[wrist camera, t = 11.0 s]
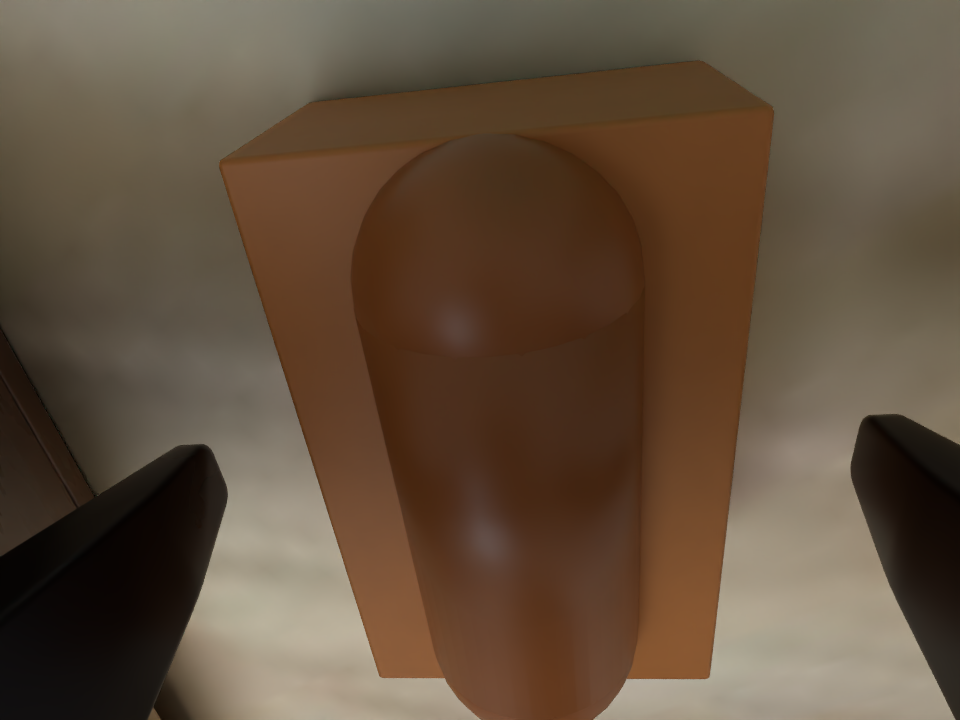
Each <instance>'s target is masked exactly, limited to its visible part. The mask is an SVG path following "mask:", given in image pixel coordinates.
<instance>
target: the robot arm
mask: <svg viewBox="0 0 960 720" xmlns="http://www.w3.org/2000/svg"><path fill="white" fill-rule="evenodd" d="M851 478H852V482H853V485H854V488H855V491H856V494H857V496H858V499H859V502H860V505H861V508H862V510H863V513H864V516H865V519H866V522H867V524H868V527H869V530H870V533H871V536H872V538H873V541H874V544H875V547H876V550H877V552H878V555H879V558H880V561H881V564H882V566H883V569H884V572H885V574H886V577H887V579H888V582H889V585H890V587H891V589H892V591H893V593H894V596H895V598H896V600H897V602H898V604H899V606H900V608H901V610H902V612H903V614H904V616H905V618H906V620H907V622H908V624H909V626H910V628H911V630H912V632H913V634H914V637H915V639H916V641H917V643H918V645H919V647H920V649H921V651H922V653H923V655H924V657H925V659H926V661H927V663H928V665H929V667H930V669H931V671H932V673H933V675H934V677H935V679H936V681H937V683H938V685H939V687H940V689H941V691H942V693H943V695H944V697H945V699H946V701H947V703H948V705H949V707H950V709H951V711H952V713H953V715H954V717H955V719H956V720H960V445H959V444H957V443H955V442H953V441H951V440H949V439H947V438H945V437H943V436H941V435H939V434H937V433H936V432H934V431H932V430H930V429H928V428H926V427H924V426H922V425H920V424H918V423H916V422H914V421H913V420H911V419H909V418H907V417H905V416H903V415H899V414H881V415H868V416H866V417H865V418H863V420H862V422H861V424H860V427H859V431H858V435H857V440H856V444H855V448H854V452H853V457H852V461H851ZM227 498H228V491H227V486H226V483H225V481H224V478H223V476H222V473H221V471H220V469H219V466H218V464H217V461H216V459H215V456H214V454H213V452H212V450H211V449H210V448H209V447H208V446H207V445H204V444H194V445H180V446H177V447H175V448H173V449H172V450H170V451H169V452H167V453H165V454H164V455H162V456H161V457H159V458H157V459H156V460H154V461H153V462H151V463H149V464H148V465H146V466H145V467H143V468H141V469H140V470H138V471H137V472H135V473H133V474H132V475H130V476H129V477H127V478H125V479H124V480H122V481H121V482H119V483H117V484H116V485H114V486H113V487H111V488H109V489H108V490H106V491H104V492H103V493H101V494H100V495H98V496H96V497H95V498H93V499H92V500H90V501H88V502H87V503H85V504H84V505H82V506H80V507H79V508H77V509H76V510H74V511H72V512H71V513H69V514H68V515H66V516H64V517H63V518H61V519H60V520H58V521H56V522H55V523H53V524H52V525H50V526H48V527H47V528H45V529H44V530H42V531H40V532H39V533H37V534H36V535H34V536H32V537H31V538H29V539H28V540H26V541H24V542H23V543H21V544H20V545H18V546H16V547H15V548H13V549H12V550H10V551H8V552H7V553H5V554H4V555H2V556H0V720H148V718H149V716H150V714H151V711H152V709H153V706H154V704H155V702H156V699H157V697H158V694H159V692H160V689H161V687H162V685H163V682H164V680H165V677H166V675H167V673H168V670H169V668H170V665H171V663H172V661H173V658H174V656H175V653H176V651H177V648H178V646H179V644H180V641H181V639H182V636H183V634H184V632H185V629H186V627H187V624H188V622H189V619H190V617H191V615H192V612H193V610H194V607H195V604H196V602H197V599H198V597H199V594H200V591H201V588H202V585H203V582H204V579H205V575H206V572H207V568H208V565H209V562H210V558H211V555H212V551H213V548H214V545H215V541H216V538H217V534H218V531H219V528H220V524H221V521H222V517H223V514H224V511H225V507H226V504H227Z"/></svg>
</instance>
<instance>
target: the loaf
mask: <svg viewBox="0 0 960 720" xmlns="http://www.w3.org/2000/svg"><path fill="white" fill-rule="evenodd" d="M773 120H774V110H773V107H772V106H771V105H769V104H768V103H766V102H765V101H763V100H762V99H760V98H758V97H757V96H755V95H754V94H752V93H751V92H749V91H748V90H746V89H745V88H743V87H742V86H740V85H739V84H737V83H736V82H734V81H732V80H731V79H729V78H728V77H726V76H725V75H723V74H722V73H720V72H719V71H717V70H716V69H714V68H713V67H711V66H709V65H708V64H706V63H705V62H703V61H700V60H699V61H690V62H681V63H671V64H662V65H653V66H643V67H634V68H625V69H616V70H606V71H597V72H588V73H578V74H569V75H560V76H551V77H541V78H532V79H523V80H513V81H504V82H495V83H486V84H476V85H467V86H458V87H448V88H439V89H430V90H421V91H411V92H402V93H393V94H383V95H374V96H365V97H356V98H346V99H337V100H328V101H318V102H310V103H308V104H307V105H305V106H303V107H302V108H300V109H299V110H297V111H296V112H294V113H293V114H291V115H290V116H288V117H287V118H285V119H283V120H282V121H280V122H279V123H277V124H276V125H274V126H273V127H271V128H270V129H268V130H267V131H265V132H263V133H262V134H260V135H259V136H257V137H256V138H254V139H253V140H251V141H250V142H248V143H247V144H245V145H243V146H242V147H240V148H239V149H237V150H236V151H234V152H233V153H231V154H230V155H228V156H227V157H225V158H223V159H222V160H220V162H219V168H220V171H221V175H222V178H223V181H224V184H225V187H226V190H227V194H228V197H229V200H230V203H231V206H232V210H233V213H234V216H235V219H236V222H237V225H238V229H239V232H240V235H241V238H242V241H243V244H244V248H245V251H246V254H247V257H248V260H249V263H250V267H251V270H252V273H253V276H254V279H255V282H256V286H257V289H258V292H259V295H260V298H261V301H262V305H263V308H264V311H265V314H266V317H267V321H268V324H269V327H270V330H271V333H272V336H273V340H274V343H275V346H276V349H277V352H278V355H279V359H280V362H281V365H282V368H283V371H284V374H285V378H286V381H287V384H288V387H289V390H290V393H291V397H292V400H293V403H294V406H295V409H296V413H297V416H298V419H299V422H300V425H301V428H302V432H303V435H304V438H305V441H306V444H307V447H308V451H309V454H310V457H311V460H312V463H313V466H314V470H315V473H316V476H317V479H318V482H319V485H320V489H321V492H322V495H323V498H324V501H325V504H326V508H327V511H328V514H329V517H330V520H331V524H332V527H333V530H334V533H335V536H336V539H337V543H338V546H339V549H340V552H341V555H342V558H343V562H344V565H345V568H346V571H347V574H348V577H349V581H350V584H351V587H352V590H353V593H354V596H355V600H356V603H357V606H358V609H359V612H360V616H361V619H362V622H363V625H364V628H365V631H366V635H367V638H368V641H369V644H370V647H371V650H372V654H373V657H374V660H375V663H376V666H377V669H378V673H379V676H380V677H382V678H445V679H446V682H447V684H448V685H449V686H450V688H451V689H452V690H453V692H454V693H455V695H456V696H457V697H458V699H459V700H460V701H461V702H462V703H463V704H464V705H465V706H466V707H467V708H468V709H469V710H471V711H472V712H473V713H474V714H475V715H476V716H477V717H478V718H480V719H481V720H593V719H594V718H595V717H596V716H598V715H599V714H600V713H601V712H602V711H604V710H605V709H606V708H607V707H608V706H609V704H610V703H611V702H612V701H613V699H614V698H615V697H616V695H617V694H618V693H619V691H620V690H621V688H622V686H623V685H624V683H625V681H626V679H707V678H709V676H710V669H711V661H712V652H713V643H714V635H715V626H716V617H717V608H718V600H719V591H720V582H721V574H722V565H723V556H724V547H725V539H726V530H727V521H728V512H729V504H730V495H731V486H732V478H733V469H734V460H735V451H736V443H737V434H738V425H739V417H740V408H741V399H742V390H743V382H744V373H745V364H746V356H747V347H748V338H749V329H750V321H751V312H752V303H753V295H754V286H755V277H756V268H757V260H758V251H759V242H760V234H761V225H762V216H763V207H764V199H765V190H766V181H767V172H768V164H769V155H770V146H771V138H772V129H773Z"/></svg>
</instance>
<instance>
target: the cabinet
mask: <svg viewBox="0 0 960 720" xmlns="http://www.w3.org/2000/svg"><path fill="white" fill-rule="evenodd" d="M93 498H95V497H94V495H93V494H92V492H91V490H90V488H89V487H88V485H87V483H86V481H85V479H84V478H83V476H82V474H81V472H80V470H79V469H78V467H77V465H76V463H75V462H74V460H73V458H72V456H71V454H70V453H69V451H68V449H67V447H66V445H65V444H64V442H63V440H62V438H61V437H60V435H59V433H58V431H57V429H56V428H55V426H54V424H53V422H52V420H51V419H50V417H49V415H48V413H47V412H46V410H45V408H44V406H43V404H42V403H41V401H40V399H39V397H38V395H37V394H36V392H35V390H34V388H33V387H32V385H31V383H30V381H29V379H28V378H27V376H26V374H25V372H24V370H23V369H22V367H21V365H20V363H19V362H18V360H17V358H16V356H15V354H14V353H13V351H12V349H11V347H10V345H9V344H8V342H7V340H6V338H5V337H4V335H3V333H2V331H1V329H0V556H2V555H4V554H5V553H7V552H8V551H10V550H12V549H13V548H15V547H16V546H18V545H20V544H21V543H23V542H24V541H26V540H28V539H29V538H31V537H32V536H34V535H36V534H37V533H39V532H40V531H42V530H44V529H45V528H47V527H48V526H50V525H52V524H53V523H55V522H56V521H58V520H60V519H61V518H63V517H64V516H66V515H68V514H69V513H71V512H72V511H74V510H76V509H77V508H79V507H80V506H82V505H84V504H85V503H87V502H88V501H90V500H92V499H93Z"/></svg>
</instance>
